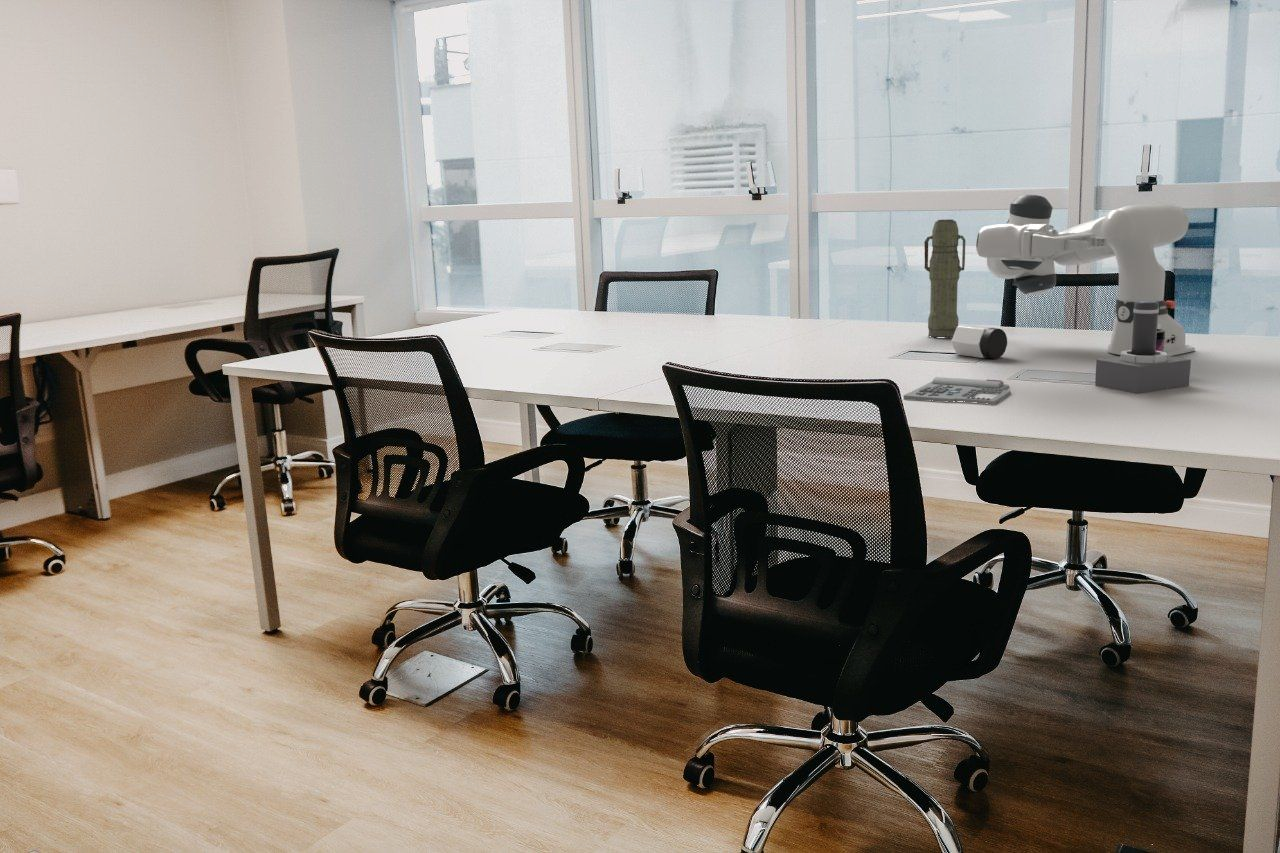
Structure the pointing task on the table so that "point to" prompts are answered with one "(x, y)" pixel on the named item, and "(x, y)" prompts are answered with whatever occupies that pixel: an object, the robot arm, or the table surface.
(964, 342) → the jar
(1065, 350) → the table surface
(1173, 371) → the camera body
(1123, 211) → the robot arm
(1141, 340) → the lens
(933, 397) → the office telephone
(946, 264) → the thermos
